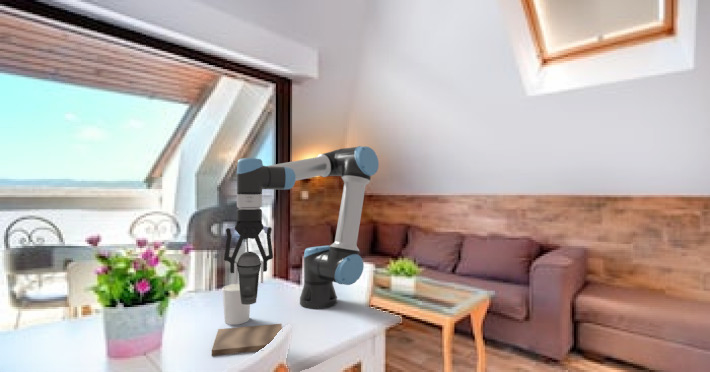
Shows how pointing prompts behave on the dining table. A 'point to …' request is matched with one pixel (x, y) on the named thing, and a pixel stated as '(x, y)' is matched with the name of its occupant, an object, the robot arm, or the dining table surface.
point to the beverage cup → (248, 276)
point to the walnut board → (244, 339)
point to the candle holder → (234, 306)
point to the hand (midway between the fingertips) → (248, 282)
